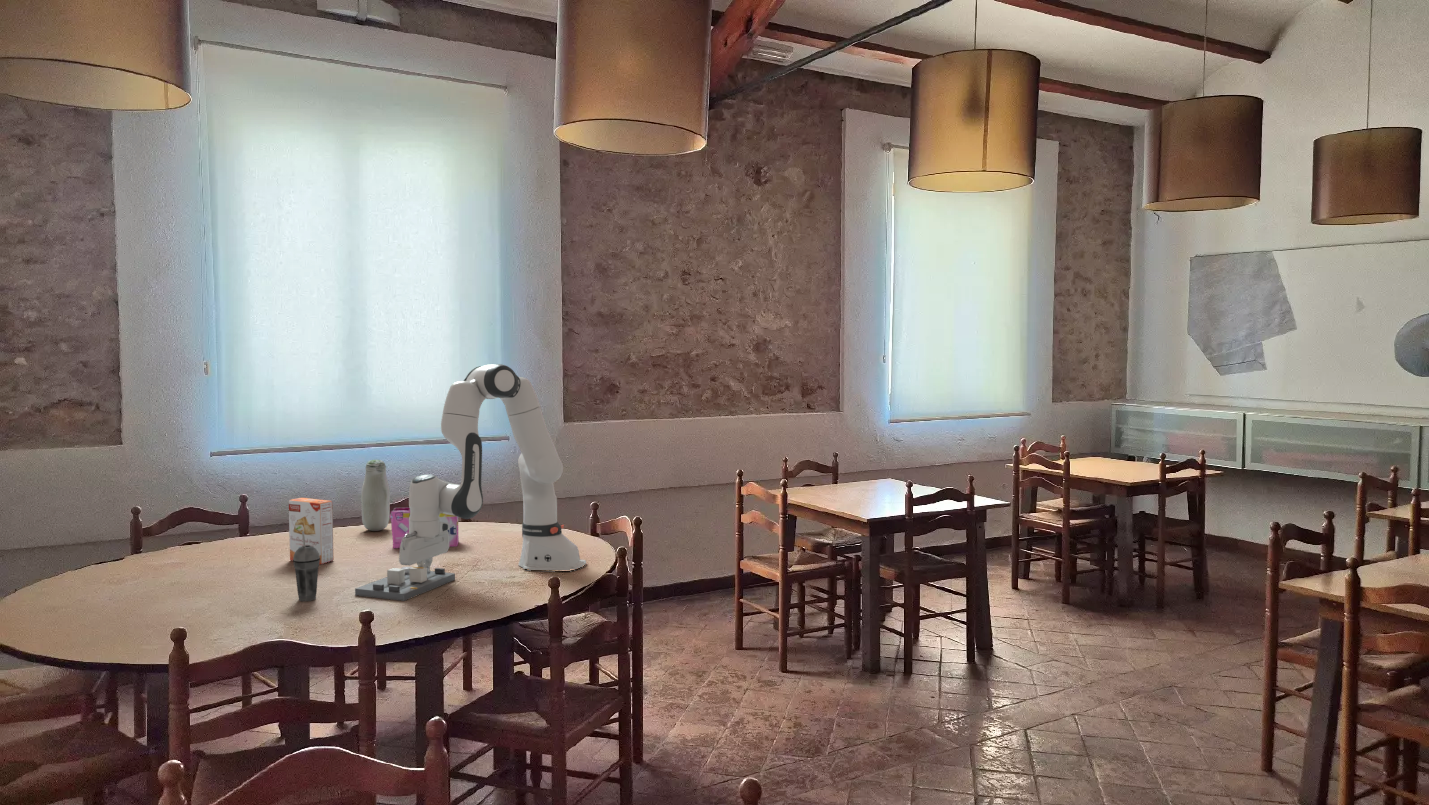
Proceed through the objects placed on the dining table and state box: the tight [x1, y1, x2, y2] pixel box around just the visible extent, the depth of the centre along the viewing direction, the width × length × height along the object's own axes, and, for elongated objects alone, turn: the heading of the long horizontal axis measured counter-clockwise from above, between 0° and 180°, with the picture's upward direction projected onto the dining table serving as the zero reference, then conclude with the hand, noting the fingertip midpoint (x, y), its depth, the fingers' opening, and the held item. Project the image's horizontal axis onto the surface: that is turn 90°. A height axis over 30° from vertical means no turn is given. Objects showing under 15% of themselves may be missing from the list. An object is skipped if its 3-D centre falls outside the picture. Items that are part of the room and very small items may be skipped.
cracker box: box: [288, 497, 335, 565], centre depth 306 cm, size 14×6×21 cm, turn 68°
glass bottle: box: [360, 459, 391, 532], centre depth 356 cm, size 10×10×28 cm
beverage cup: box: [292, 531, 320, 602], centre depth 260 cm, size 7×7×20 cm
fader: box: [409, 565, 427, 583], centre depth 273 cm, size 4×3×4 cm
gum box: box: [389, 507, 460, 549], centre depth 331 cm, size 24×8×14 cm, turn 102°
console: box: [354, 566, 456, 602], centre depth 275 cm, size 17×25×6 cm
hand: (424, 573), depth 277 cm, fingers closed
